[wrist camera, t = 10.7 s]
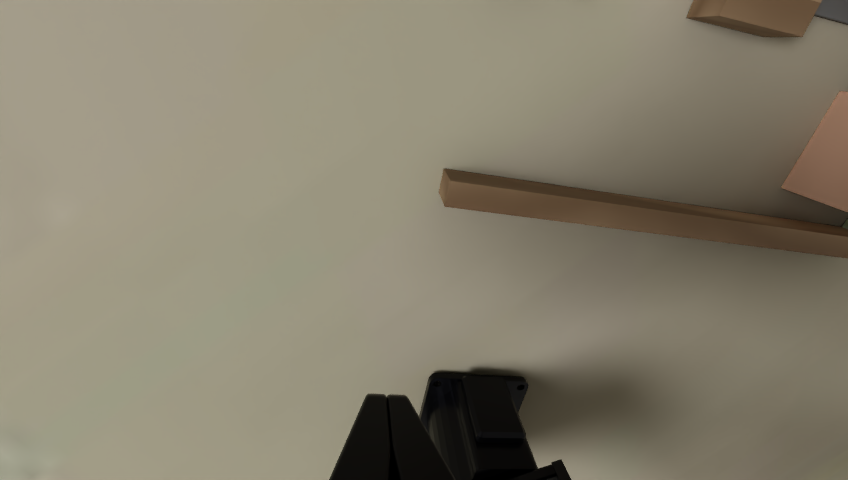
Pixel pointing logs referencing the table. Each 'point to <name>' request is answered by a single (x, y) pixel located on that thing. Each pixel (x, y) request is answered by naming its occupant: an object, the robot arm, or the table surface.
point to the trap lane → (716, 4)
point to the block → (825, 160)
